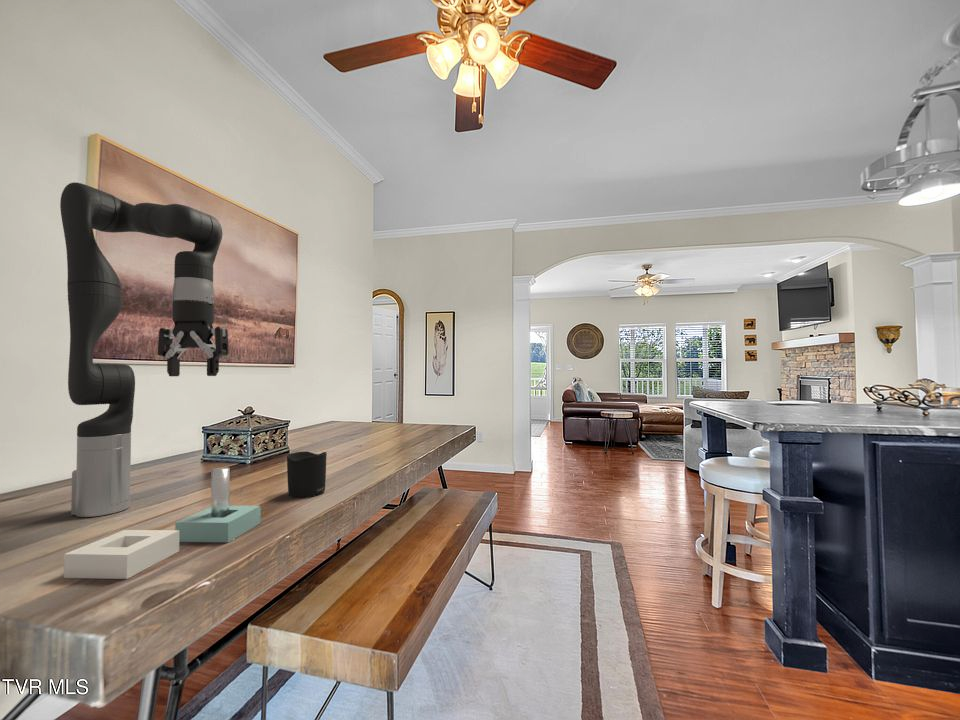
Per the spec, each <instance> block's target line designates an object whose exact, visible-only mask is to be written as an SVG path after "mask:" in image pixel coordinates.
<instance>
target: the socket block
mask: <svg viewBox="0 0 960 720" xmlns="http://www.w3.org/2000/svg"><path fill="white" fill-rule="evenodd" d="M178 552H180V542H179V530H171V529H169V530H168V529H166V530H164V529H163V530H162V529H160V530H159V529H157V530H155V529H150V530H149V529H123V530H121V531H118V532H116V533H114V534H110V535H108V536H105V537H103V538H101V539H98V540H96V541H93V542H91V543H89V544H85V545H84V546H81V547H79V548H76V549H73V550H70V551H68V552H66V553H64V554H63V555H64V556H63V579H100V580H101V579H105V580H106V579H107V580H108V579H111V580H114V579H115V580H117V579H118V580H127V579H129V578H131V577H134V576H135V575H137V574H139V573H141V572H143V571H144V570H147V569H148V568H150V567H152V566H154V565H156V564H158V563H160V562H162V561H163V560H166V559H167V558H169V557H171V556H173V555H175V554H176V553H178Z"/></svg>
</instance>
